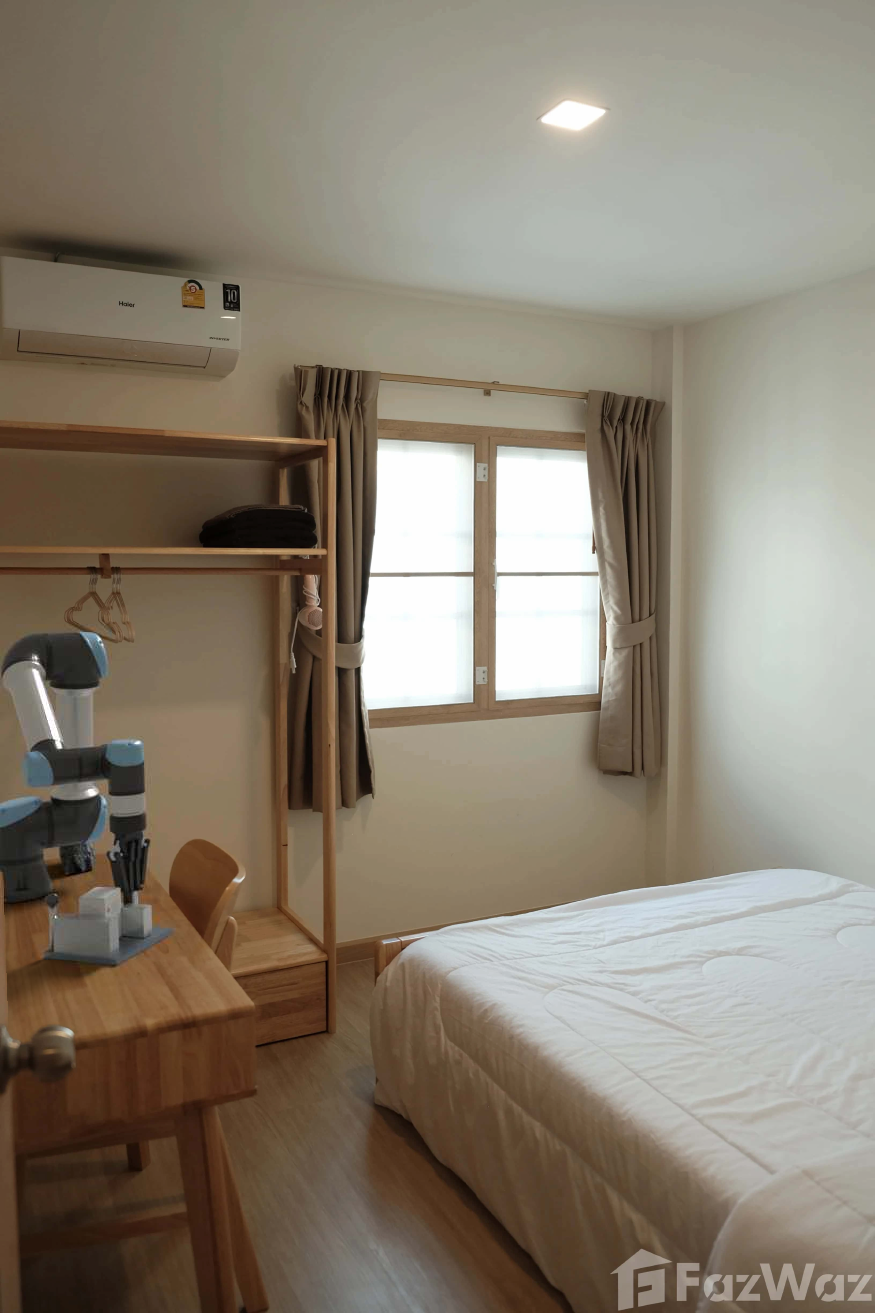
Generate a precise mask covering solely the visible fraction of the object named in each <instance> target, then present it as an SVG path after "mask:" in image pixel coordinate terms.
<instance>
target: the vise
mask: <svg viewBox="0 0 875 1313" xmlns="http://www.w3.org/2000/svg"><path fill="white" fill-rule="evenodd" d="M44 903H45V905H46V907H48V919H49V920H48V921H49V949H47V950H46V951H43V958H44V959H49V958H50V959H51V960H59V961H69V962H80V963H81V962H82V963H91V964H101V965H109V966H110V965H111V966H119V965H121V964H123V963H124V962H126V961H128V960H130V959H131V958H133V957H135V956H136V955H138V954H140V953H141V951H142V952H143V951H145V950H146V949H148V948H150V947H152V946H153V945H155V944H157V943H159V942H160V941H162V940H164V939H165V938H168V937H169V936H171V935H173V934H174V927H170V926H159V925H152V934H150V935H148V936H146V937H145V938H141V937H130V936H121V937H120V938H119V930H118V918H113V917H101V916H90V915H79V913H78V914H77V913H65V912H62V913H60V914H58V915H57V906H59V904H60V896H59V895H58V894H57V893H54V892H51V893H50V894H48V895H46V896H45V898H44Z"/></svg>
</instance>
